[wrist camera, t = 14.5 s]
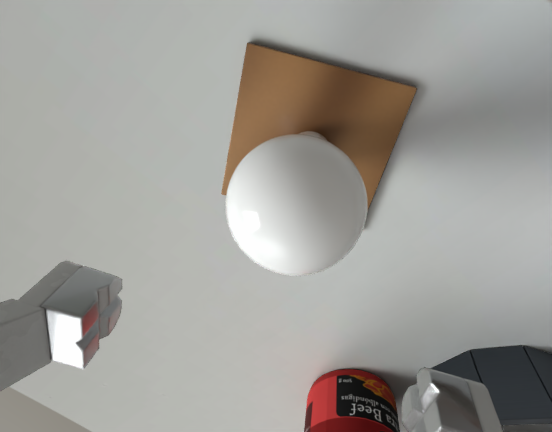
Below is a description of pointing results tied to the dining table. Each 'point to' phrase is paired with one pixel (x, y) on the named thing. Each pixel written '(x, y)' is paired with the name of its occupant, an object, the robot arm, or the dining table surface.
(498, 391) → the dark grey polygonal container
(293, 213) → the lightbulb
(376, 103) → the coaster
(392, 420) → the canned food
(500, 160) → the dining table surface
